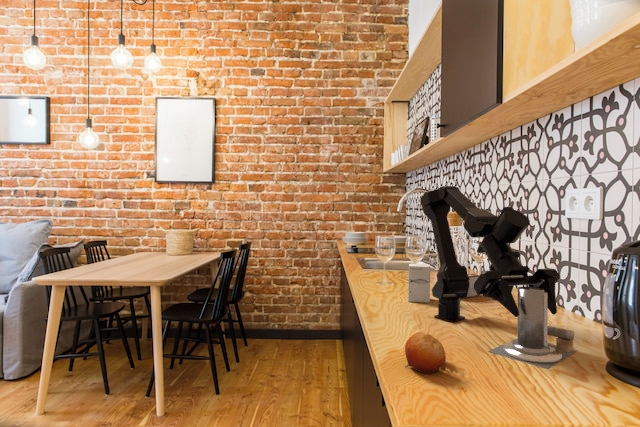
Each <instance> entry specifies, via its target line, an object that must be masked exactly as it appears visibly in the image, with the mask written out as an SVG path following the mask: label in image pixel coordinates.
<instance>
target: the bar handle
mask: <svg viewBox="0 0 640 427" xmlns="http://www.w3.org/2000/svg"><path fill="white" fill-rule="evenodd" d="M547 336H552V337H556V342H555V343H556V344H555V345H556V349H557V350H560V351H564V352H568V353H569V352H571V351H573V349H574V339H575V331H574V330H570V329H565V328H560V327H555V326H551V325H547Z"/></svg>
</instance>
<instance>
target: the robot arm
mask: <svg viewBox="0 0 640 427" xmlns="http://www.w3.org/2000/svg"><path fill="white" fill-rule="evenodd" d="M419 200H420V202H419V203H420V206H421V208H422V211H423V214H424V215H425V216H426V217H427V218H428V220H430V222H431V228H432V232H433V237H434V241H435V246H436V251H437V256H438V260H439V268H438V271H437V274H436V280H437V281H436V282H434V285H433V287H432V288H431V294H432V297H433V298H435V299H438V303H437V304H438V306H437V312H438V314H436V315H433V316H434V318H435V319H440V320H443V321H446V322H447V321H448V322H450V323H455V322H459V321H461V320H464V319H466V317H465V316H464V315H461V298H464V299H468V298H467V294H468V290H469V286H470V283H469V280H470V279H469V277H468V274H469V273H468V269H467V267H466V265H461V264H460V263H459V262H458V259H457V255H456V249H455V246H454V240H453V238H452V232H451V228H450V224H449V220H448V215H449V212H450V209H452V210H453V211H454V212H455V213H456V214H457V215H458V216H459V218H461V219H462V221H463V227H464V229H465V231H466V233H468V235H469V236H470V237H471V238H473V239H474V238H475V239H477V238H480V239H481V238H483V239H482V240H481V241H480V242H479V243H478V247H477V251H476V252H477V253H478V254H482V253H483V254H485V255H486V257H487V259H488V260H489V263H490V265H489V267H488V269H489V270H482V271H481V273H480V274H479V277H478V278H477V280H476V281H475V282H474V289H475V291H476V293H477V294H478V295H479V296H480V295H482V296H483V297H485V298H490V299H492V300H493V301H497V302H498V303H499V304H500V305H502V306H503V307H504V308H505V309H506V310H507V311H508V312H509V313H511V315H512V316H514V317H515V318H518V316H519V311H518V304H517V303H516V300H515V297H514V296H513V293H512V292H513V289H514V287H515V286H527V287H536V288H541V289H544V292H547V310H549V312H550V313H551V314H552V315H553V316H554V315H556V314H557V312H558V308H557V306H558V305H557V299H556V283H557V282H558V281H559V280H560V279H561V275H560V273H559V272H558V271H557V269H556V268H548V267H547V268H538V269H536V271H535V272H534V273H533V274H532V275H528V272H529V271H530V270H531V269H530V267H529V266H528V265H523V263H522V262H521V261H520V259H519V258H520V256H521V253H520V252H519V251H514V250H513V248H512V247H511V245H510V244H514V243H516V242H517V241H518V240H519V238H520V237H522V236H521V235H523V233H524V232H525V231H526V230H527V228H528V227H529V225H530V222H531V221H530V218H529V217H528V216H527V215H525V214H523V212H521V211H519V210H516V209H514V208H513V206H503V208H502V209H501V212H500V213H499V214H498V216H497V215H495V214H493V213H492V212H490V211H488V210H485V209H481V208H480V207H478V206H477V205H475V203H473V201H472V200H470V199H469V198H468V197H467V196H466V195H465V194H464V193H463V192H461V190H460V188H459V187H458V186H457V185H456V186H455V185H443V186H441V187H439V188H436V189H433V190H430V191H426V192H424V193H423V195H421V197H420V199H419Z"/></svg>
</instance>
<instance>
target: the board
mask: <svg viewBox="0 0 640 427" xmlns="http://www.w3.org/2000/svg"><path fill="white" fill-rule="evenodd" d="M515 340H518V337H517V338H515V339H513V340H511V341H509V342H513V341H515ZM503 345H504V344H501V345H499V346H497V347H495V348H493V349H490V350H488V351H487V352H488V353H491V354H495V355H499V356H502V357H505V358H509V359H512V360H515V361H518V362H520V363H524V364H525V363H526V364H527V365H528V364H529V365H532V366H535V367H539V368H542V369H545V370H549V369H551V368H553V367H554V366H556V365H558V364H559V363H561V362H563V361H564V360H566V359H567V358H569V357H570V356H572V355H574V354H575V353H577V352H579V350H577V349H574V348H573V351H571V352H569V353H568V352H564V351H560V350H558V351H560V352H561V353H562V360H561V361H560V362H558V363H554V364H539V363H531V362H526V361H522V360H518V359H515V358H513V357H510V356H509V355H507V354H506V353H504V351H503ZM547 345H548V346H550V347H552V348H555V349H556V344H554V343H550V342H547Z"/></svg>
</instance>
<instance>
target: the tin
mask: <svg viewBox="0 0 640 427" xmlns="http://www.w3.org/2000/svg"><path fill="white" fill-rule="evenodd" d="M467 274H468V277H469V279H470V280H469V283H470V286H469V290H468V294H467V298H466V299H469V298H477V297H479V296H480V295H478V294H477V293H476V291H475V289H474V282H475V281H476V280H477V278H478V277H479V276H480V274H476V273H467Z"/></svg>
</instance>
